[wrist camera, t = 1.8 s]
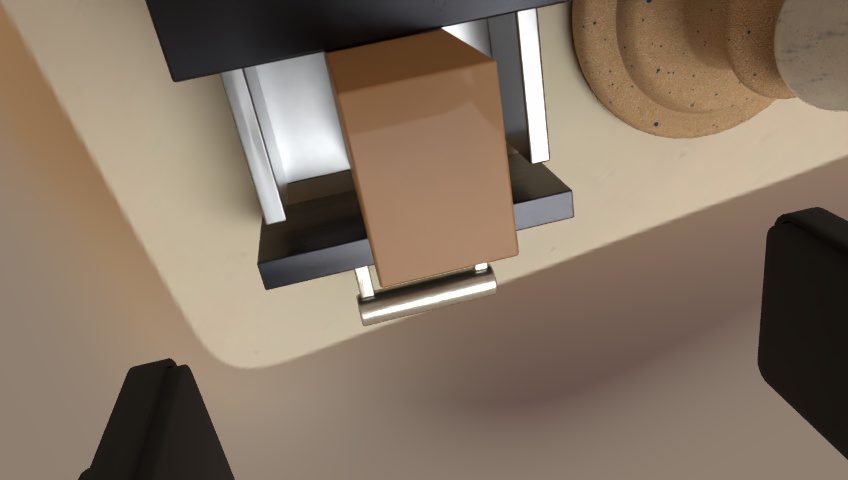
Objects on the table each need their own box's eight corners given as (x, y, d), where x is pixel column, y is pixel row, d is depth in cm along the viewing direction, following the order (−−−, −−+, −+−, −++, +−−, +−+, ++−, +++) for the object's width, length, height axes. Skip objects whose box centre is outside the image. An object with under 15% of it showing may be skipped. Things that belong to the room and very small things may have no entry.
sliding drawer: (538, 243, 32) (580, 296, 28) (290, 303, 31) (290, 368, 27) (509, -43, 27) (556, -38, 22) (203, 18, 25) (183, 36, 21)
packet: (349, 165, 28) (381, 289, 18) (318, 33, 25) (335, 93, 16) (440, 145, 28) (520, 256, 18) (418, 12, 26) (497, 59, 16)
